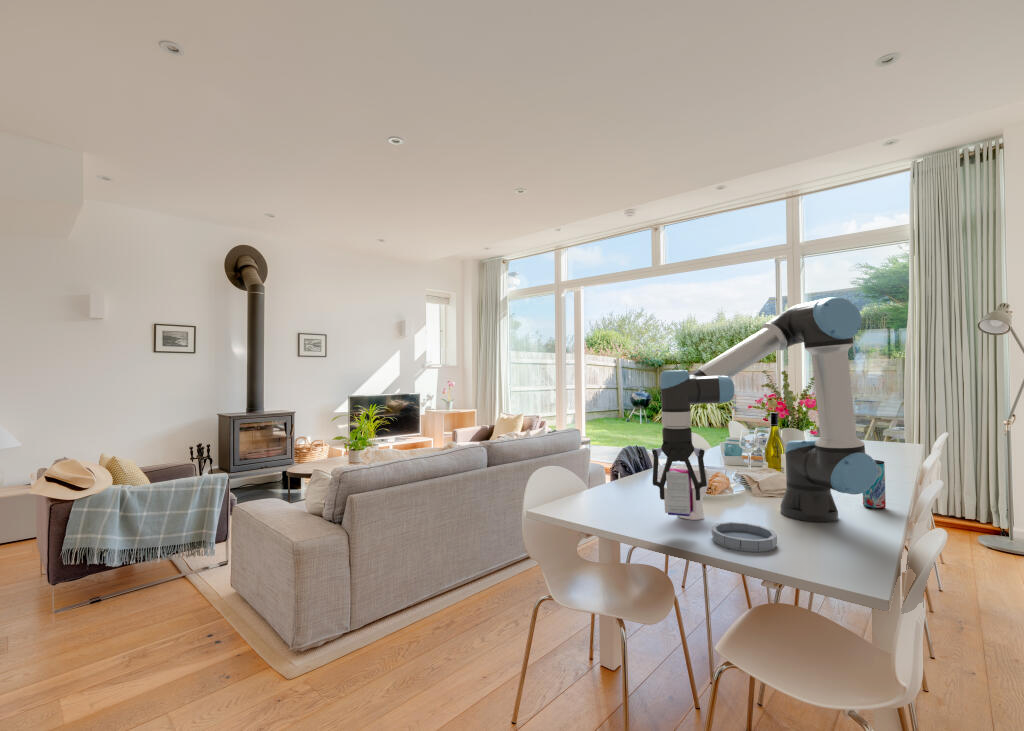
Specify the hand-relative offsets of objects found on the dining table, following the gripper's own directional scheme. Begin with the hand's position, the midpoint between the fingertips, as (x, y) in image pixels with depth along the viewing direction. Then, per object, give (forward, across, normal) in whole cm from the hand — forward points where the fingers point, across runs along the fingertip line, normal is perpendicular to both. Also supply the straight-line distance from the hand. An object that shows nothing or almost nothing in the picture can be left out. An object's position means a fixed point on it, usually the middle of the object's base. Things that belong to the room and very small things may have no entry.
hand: (680, 511), depth 132 cm
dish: (+7, -15, +1) cm, 17 cm away
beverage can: (+9, -62, -43) cm, 76 cm away
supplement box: (+1, 0, 0) cm, 1 cm away
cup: (+7, -4, -20) cm, 21 cm away
